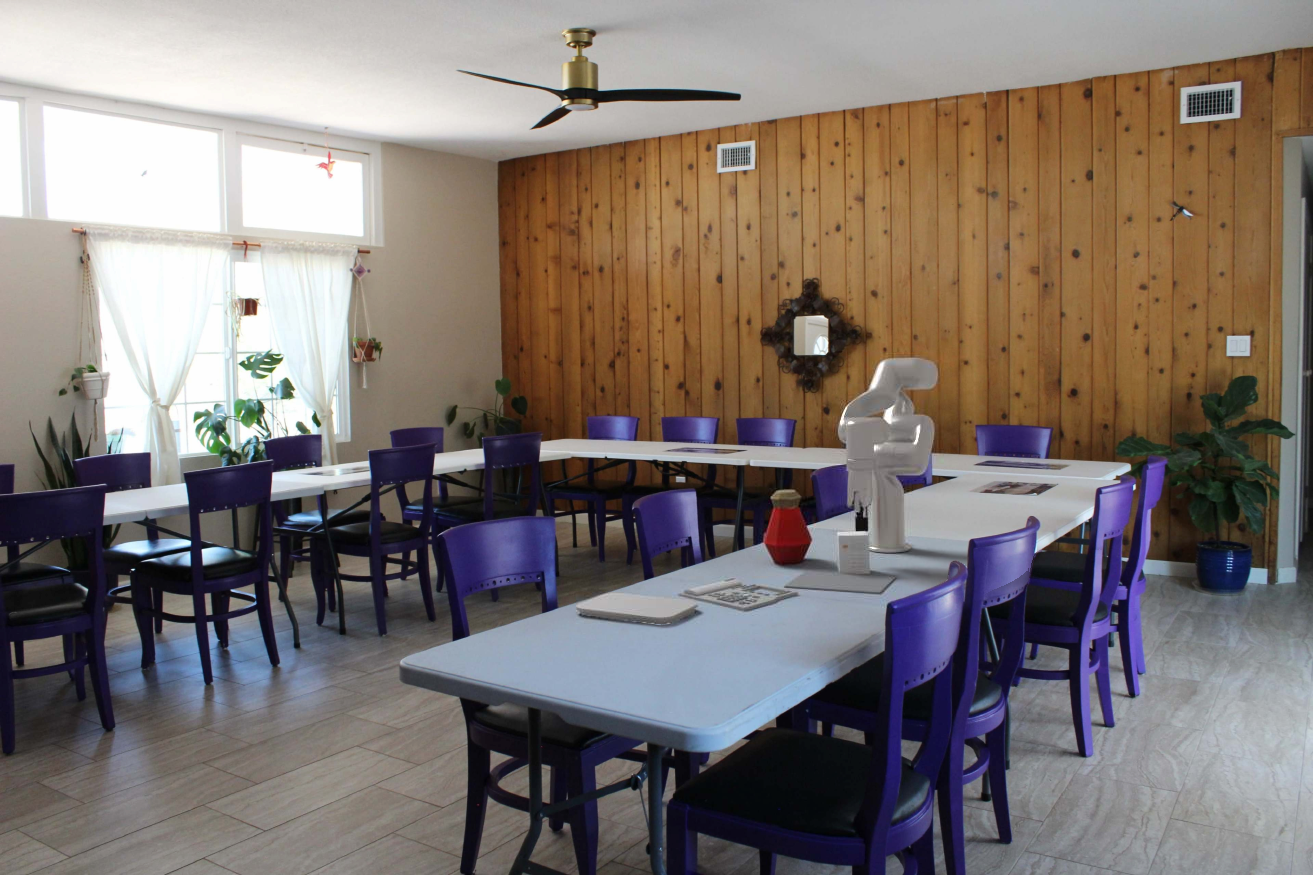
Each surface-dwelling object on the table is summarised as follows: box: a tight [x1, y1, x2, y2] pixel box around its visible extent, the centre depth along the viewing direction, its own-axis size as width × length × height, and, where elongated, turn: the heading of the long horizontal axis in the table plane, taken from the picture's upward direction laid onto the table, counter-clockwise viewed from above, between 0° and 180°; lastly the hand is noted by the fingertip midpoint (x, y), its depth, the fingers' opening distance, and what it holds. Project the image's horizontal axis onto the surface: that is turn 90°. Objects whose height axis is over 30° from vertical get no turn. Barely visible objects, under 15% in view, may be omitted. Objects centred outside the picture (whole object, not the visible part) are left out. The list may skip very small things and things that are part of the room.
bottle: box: [762, 489, 813, 565], centre depth 277 cm, size 16×14×20 cm
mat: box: [783, 570, 897, 595], centre depth 249 cm, size 18×24×1 cm
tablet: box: [575, 592, 699, 625], centre depth 227 cm, size 16×26×2 cm, turn 59°
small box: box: [836, 531, 871, 575], centre depth 260 cm, size 8×6×10 cm
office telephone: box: [677, 578, 799, 612], centre depth 239 cm, size 23×3×20 cm
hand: (861, 531), depth 269 cm, fingers closed
